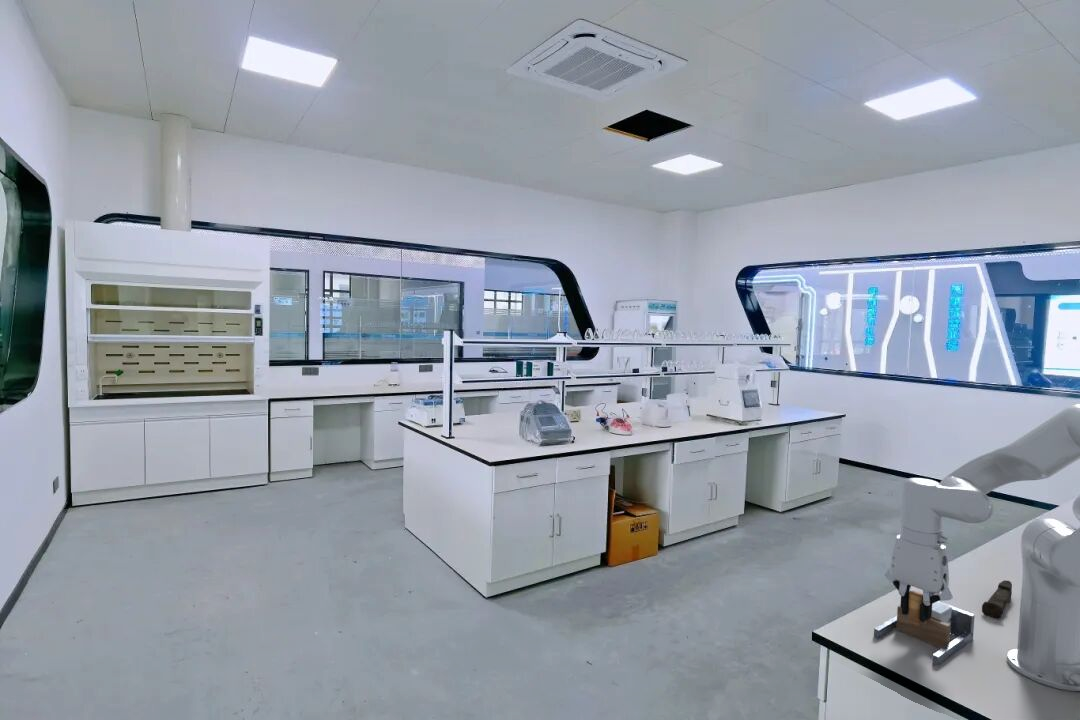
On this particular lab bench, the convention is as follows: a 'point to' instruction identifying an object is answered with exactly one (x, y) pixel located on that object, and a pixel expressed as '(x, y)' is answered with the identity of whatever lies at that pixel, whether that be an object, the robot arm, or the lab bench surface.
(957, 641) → the clamp frame
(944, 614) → the skincare box
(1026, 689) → the lab bench surface
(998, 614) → the hand tool
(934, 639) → the sliding jaw
